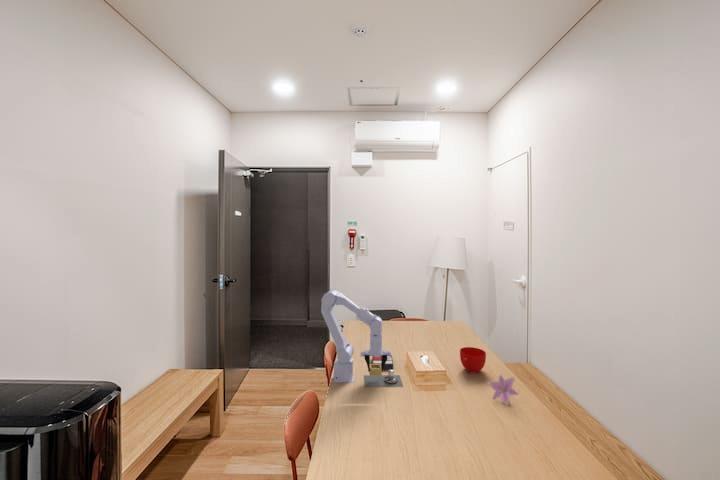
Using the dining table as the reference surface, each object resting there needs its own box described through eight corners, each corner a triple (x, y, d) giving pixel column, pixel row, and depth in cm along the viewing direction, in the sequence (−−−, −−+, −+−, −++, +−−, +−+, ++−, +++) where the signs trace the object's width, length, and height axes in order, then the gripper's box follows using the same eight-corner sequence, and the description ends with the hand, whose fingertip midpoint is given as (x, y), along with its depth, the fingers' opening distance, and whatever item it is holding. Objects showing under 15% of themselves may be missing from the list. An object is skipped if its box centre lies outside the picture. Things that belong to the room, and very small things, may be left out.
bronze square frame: (370, 375, 151) (370, 368, 151) (369, 370, 156) (369, 364, 156) (381, 375, 151) (381, 369, 151) (380, 370, 157) (380, 364, 156)
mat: (364, 388, 148) (364, 387, 148) (363, 376, 160) (363, 375, 160) (403, 387, 148) (403, 386, 148) (399, 376, 160) (399, 375, 160)
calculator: (391, 353, 181) (393, 363, 166) (391, 361, 181) (393, 371, 166) (372, 353, 182) (372, 362, 167) (372, 360, 182) (372, 370, 167)
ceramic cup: (451, 372, 164) (451, 353, 164) (466, 363, 177) (466, 345, 177) (476, 381, 156) (476, 360, 155) (489, 370, 168) (490, 351, 168)
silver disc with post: (385, 384, 151) (385, 373, 151) (383, 377, 157) (383, 367, 157) (398, 383, 151) (398, 373, 151) (396, 377, 157) (396, 367, 157)
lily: (486, 393, 146) (482, 379, 142) (508, 382, 147) (505, 367, 143) (503, 415, 135) (499, 400, 131) (527, 403, 136) (524, 387, 132)
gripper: (361, 345, 149) (360, 374, 149) (392, 345, 150) (391, 374, 150) (360, 340, 156) (360, 367, 157) (390, 340, 157) (389, 368, 157)
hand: (375, 370), depth 154 cm, fingers closed on bronze square frame, 6 cm apart
